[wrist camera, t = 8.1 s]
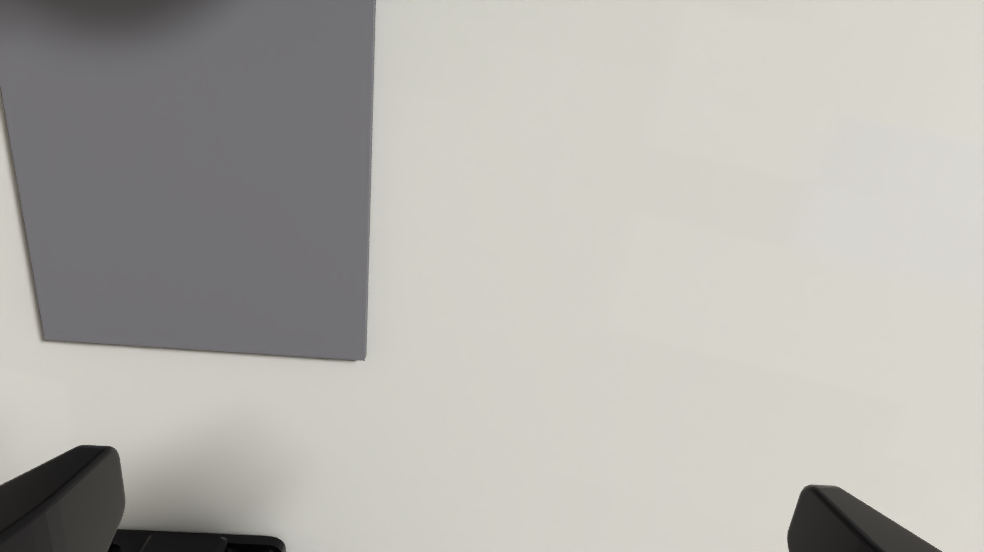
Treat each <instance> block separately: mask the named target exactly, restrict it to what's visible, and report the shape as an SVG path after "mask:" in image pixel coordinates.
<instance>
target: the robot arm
mask: <svg viewBox="0 0 984 552" xmlns="http://www.w3.org/2000/svg"><path fill="white" fill-rule="evenodd" d="M124 508H125V492H124V485H123V478H122V471H121V464H120V457H119V454H118V452H117V450H116V449H115V448H113V447H111V446H95V445H81V446H78V447H75V448H73V449H71V450H69V451H67V452H65V453H63V454H61V455H59V456H57V457H55V458H53V459H51V460H49V461H47V462H45V463H43V464H41V465H40V466H38V467H36V468H34V469H32V470H30V471H28V472H26V473H24V474H22V475H20V476H18V477H16V478H14V479H12V480H10V481H8V482H6V483H4V484H2V485H0V552H268V551H267V550H271V551H273V552H286V547H285V544H284V543H283V542H282V540H280V539H278V538H276V537H267V536H246V535H225V534H203V533H182V532H161V531H140V530H118V529H117V528H118V526H119V524H120V521H121V519H122V516H123V513H124ZM787 542H788V549H789V552H942V551H940V550H939V549H937V548H935V547H934V546H932V545H931V544H929V543H927V542H926V541H924V540H923V539H921V538H919V537H918V536H916V535H915V534H913V533H911V532H910V531H908V530H907V529H905V528H903V527H902V526H900V525H899V524H897V523H895V522H894V521H892V520H891V519H889V518H887V517H886V516H884V515H883V514H881V513H880V512H878V511H876V510H875V509H873V508H872V507H870V506H868V505H867V504H865V503H864V502H862V501H860V500H859V499H857V498H856V497H854V496H852V495H851V494H849V493H848V492H846V491H844V490H843V489H841V488H839V487H836V486H829V485H808V486H806V487H804V489H803V490H802V491H801V494H800V496H799V499H798V502H797V505H796V508H795V511H794V514H793V517H792V520H791V523H790V526H789V530H788V536H787ZM114 543H115V544H114ZM116 544H117V545H116Z"/></svg>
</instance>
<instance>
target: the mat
mask: <svg viewBox="0 0 984 552" xmlns="http://www.w3.org/2000/svg"><path fill="white" fill-rule="evenodd" d="M375 10H376V0H0V87H1V93H2V99H3V104H4V110H5V116H6V121H7V127H8V133H9V139H10V144H11V150H12V156H13V161H14V167H15V173H16V178H17V184H18V190H19V196H20V201H21V207H22V213H23V218H24V224H25V230H26V235H27V241H28V247H29V253H30V258H31V264H32V270H33V275H34V281H35V287H36V292H37V298H38V304H39V310H40V315H41V321H42V327H43V332H44V338H45V340H56V341H71V342H86V343H102V344H117V345H133V346H148V347H163V348H179V349H194V350H209V351H225V352H240V353H255V354H271V355H286V356H301V357H317V358H332V359H347V360H363V361H365V357H366V345H367V308H368V271H369V233H370V196H371V159H372V122H373V84H374V47H375Z"/></svg>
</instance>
